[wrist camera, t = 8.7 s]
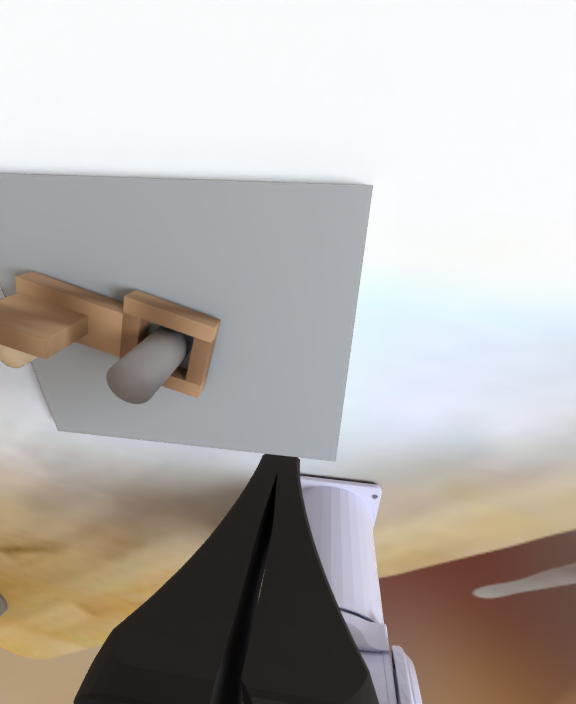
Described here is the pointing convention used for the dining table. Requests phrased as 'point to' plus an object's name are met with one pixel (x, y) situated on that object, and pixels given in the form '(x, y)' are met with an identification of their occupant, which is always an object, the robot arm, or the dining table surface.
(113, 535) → the dining table surface
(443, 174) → the dining table surface
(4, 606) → the coffeepot
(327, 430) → the base board
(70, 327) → the brown wooden blocky piece
